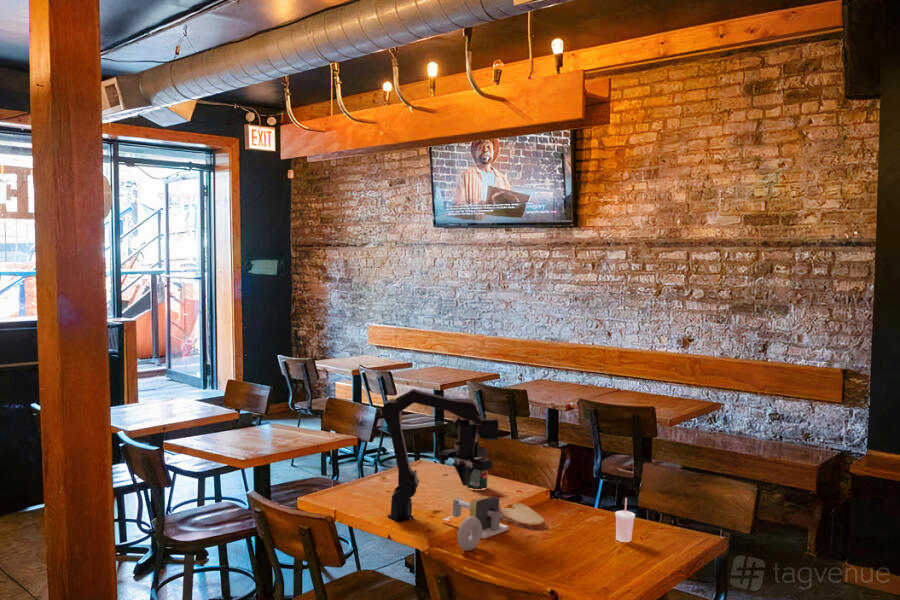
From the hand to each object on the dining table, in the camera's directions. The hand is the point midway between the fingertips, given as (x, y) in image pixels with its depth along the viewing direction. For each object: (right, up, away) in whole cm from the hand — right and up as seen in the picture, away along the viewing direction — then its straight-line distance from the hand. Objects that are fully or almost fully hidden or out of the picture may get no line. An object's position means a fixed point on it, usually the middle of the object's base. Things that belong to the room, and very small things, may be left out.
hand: (464, 485), depth 250 cm
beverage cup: (+50, -16, -10) cm, 53 cm away
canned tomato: (+5, -11, +38) cm, 40 cm away
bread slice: (+19, -13, +7) cm, 24 cm away
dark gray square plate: (+7, -11, -6) cm, 15 cm away
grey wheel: (+1, -14, -23) cm, 27 cm away
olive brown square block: (+5, -10, -5) cm, 12 cm away
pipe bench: (+3, -13, -3) cm, 13 cm away
